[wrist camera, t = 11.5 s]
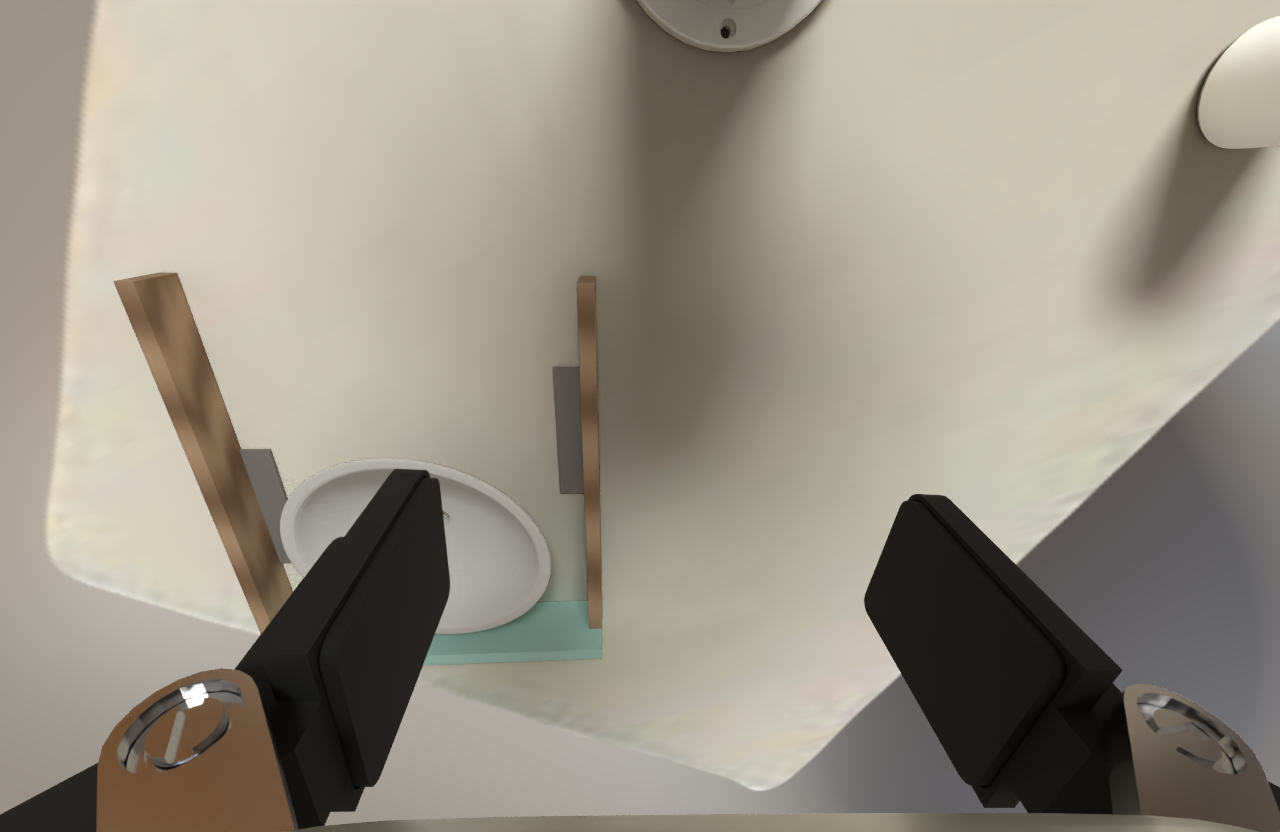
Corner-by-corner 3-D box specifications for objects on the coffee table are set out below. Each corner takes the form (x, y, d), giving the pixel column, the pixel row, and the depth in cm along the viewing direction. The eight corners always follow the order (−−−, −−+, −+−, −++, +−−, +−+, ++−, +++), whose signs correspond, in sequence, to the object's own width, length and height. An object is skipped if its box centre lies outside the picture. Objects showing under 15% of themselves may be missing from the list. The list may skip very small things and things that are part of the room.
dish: (582, 466, 37) (578, 505, 32) (530, 604, 42) (521, 655, 38) (332, 393, 33) (289, 425, 29) (310, 554, 39) (270, 602, 34)
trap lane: (159, 272, 30) (77, 287, 25) (595, 276, 31) (593, 291, 27) (289, 618, 41) (250, 671, 37) (602, 608, 43) (601, 658, 38)
